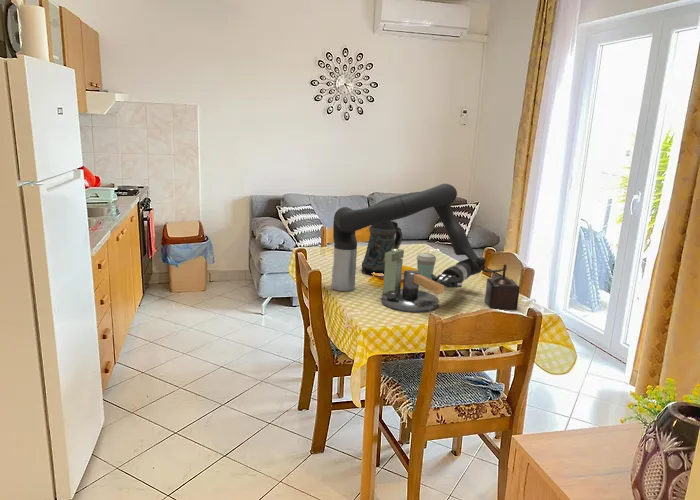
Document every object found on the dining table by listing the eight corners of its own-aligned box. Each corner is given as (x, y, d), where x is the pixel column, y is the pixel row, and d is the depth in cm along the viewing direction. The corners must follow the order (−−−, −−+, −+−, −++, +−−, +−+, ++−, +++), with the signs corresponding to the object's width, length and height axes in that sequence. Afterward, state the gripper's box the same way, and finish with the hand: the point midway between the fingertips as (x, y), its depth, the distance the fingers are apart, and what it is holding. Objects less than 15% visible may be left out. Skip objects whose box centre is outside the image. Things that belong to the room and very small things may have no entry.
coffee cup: (433, 285, 231) (436, 258, 228) (414, 283, 232) (416, 256, 230) (434, 279, 239) (437, 253, 236) (415, 277, 241) (417, 251, 238)
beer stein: (355, 273, 243) (358, 219, 237) (371, 264, 260) (374, 213, 254) (389, 279, 236) (393, 223, 230) (403, 269, 253) (407, 217, 248)
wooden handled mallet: (399, 295, 207) (401, 270, 205) (411, 294, 210) (413, 269, 207) (431, 313, 189) (434, 286, 187) (445, 311, 192) (447, 284, 190)
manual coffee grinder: (509, 300, 215) (514, 257, 211) (517, 310, 204) (523, 264, 200) (470, 299, 215) (475, 255, 210) (477, 308, 204) (482, 262, 200)
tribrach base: (370, 303, 203) (373, 253, 198) (397, 290, 221) (400, 243, 216) (423, 317, 192) (428, 263, 187) (447, 301, 210) (451, 252, 205)
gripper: (439, 263, 210) (420, 272, 195) (471, 269, 203) (455, 279, 189) (437, 281, 212) (419, 292, 197) (469, 288, 205) (453, 299, 190)
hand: (436, 286), depth 193 cm, fingers closed
